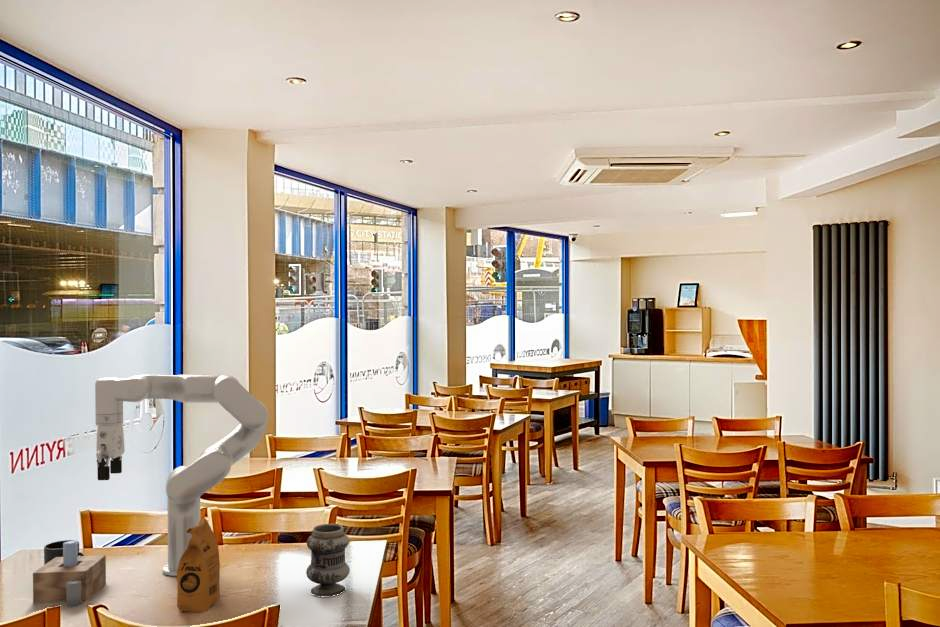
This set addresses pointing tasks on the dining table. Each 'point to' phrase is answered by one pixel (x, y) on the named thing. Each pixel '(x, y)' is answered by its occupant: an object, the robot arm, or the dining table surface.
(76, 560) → the tall pin
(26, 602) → the dining table surface
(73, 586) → the short pin
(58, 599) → the hole block
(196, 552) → the coffee package
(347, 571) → the apothecary jar
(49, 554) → the mug
